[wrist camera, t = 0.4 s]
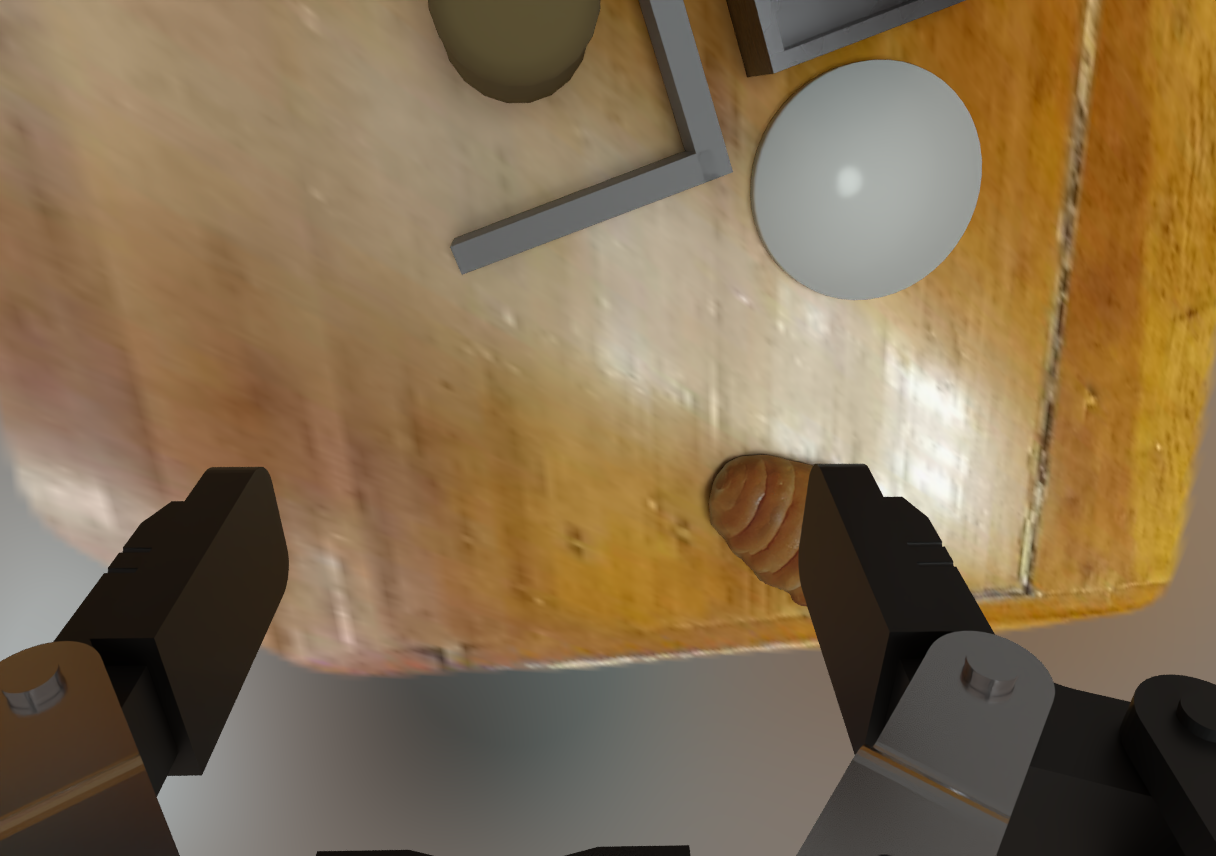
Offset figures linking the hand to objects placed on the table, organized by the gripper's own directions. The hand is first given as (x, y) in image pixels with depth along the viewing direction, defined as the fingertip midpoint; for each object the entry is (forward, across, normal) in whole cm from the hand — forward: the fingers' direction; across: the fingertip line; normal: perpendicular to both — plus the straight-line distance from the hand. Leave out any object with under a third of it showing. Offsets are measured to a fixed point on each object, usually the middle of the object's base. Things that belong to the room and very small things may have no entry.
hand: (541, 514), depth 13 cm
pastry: (+25, -11, +19) cm, 33 cm away
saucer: (+28, -13, +2) cm, 31 cm away
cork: (+28, +2, -4) cm, 28 cm away
